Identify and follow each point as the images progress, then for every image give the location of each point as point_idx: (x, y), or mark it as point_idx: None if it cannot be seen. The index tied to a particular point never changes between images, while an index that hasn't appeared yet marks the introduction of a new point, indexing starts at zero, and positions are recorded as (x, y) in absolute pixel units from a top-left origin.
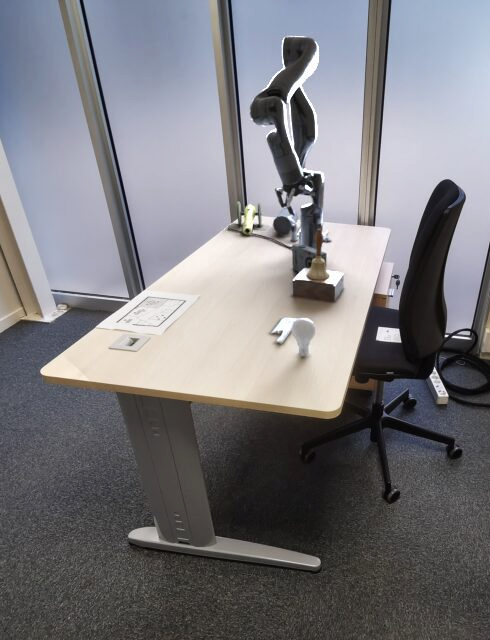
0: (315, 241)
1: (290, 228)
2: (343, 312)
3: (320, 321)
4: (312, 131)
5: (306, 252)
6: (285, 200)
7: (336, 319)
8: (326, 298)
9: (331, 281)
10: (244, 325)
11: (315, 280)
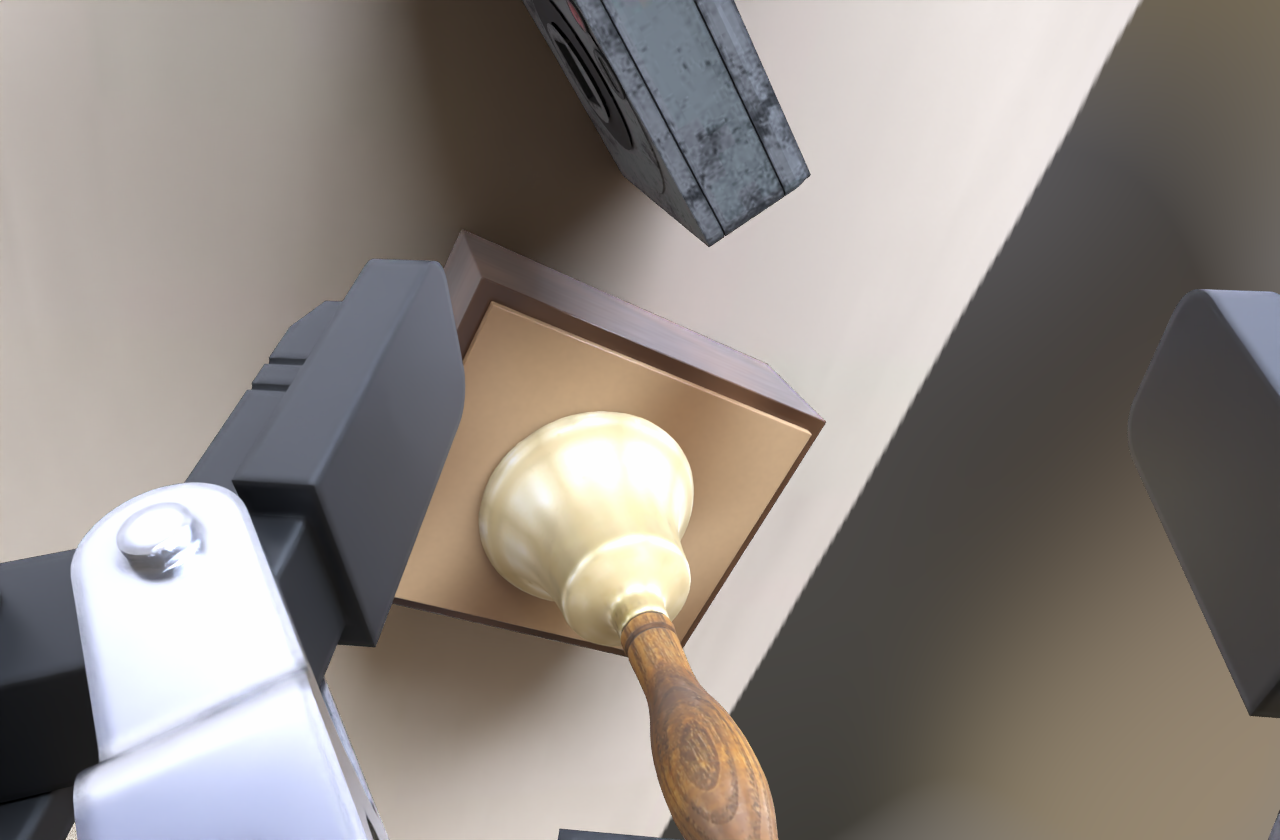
0: (656, 770)
1: None
2: (648, 706)
3: (490, 808)
4: None
5: (578, 17)
6: (102, 678)
7: (585, 780)
8: None
9: None
10: None
11: (543, 607)
